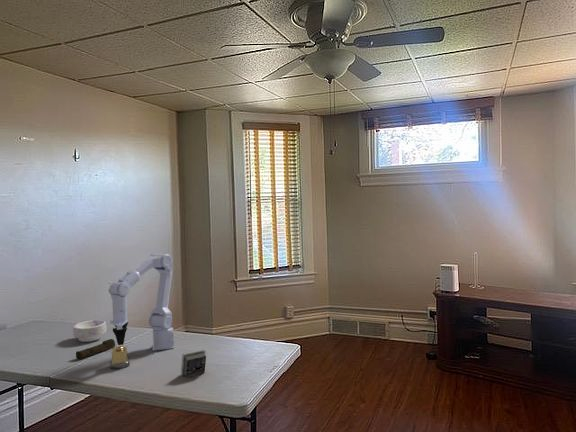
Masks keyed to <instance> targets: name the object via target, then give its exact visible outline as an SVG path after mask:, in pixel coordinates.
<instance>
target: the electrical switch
mask: <svg viewBox="0 0 576 432" xmlns="http://www.w3.org/2000/svg"><path fill="white" fill-rule="evenodd" d="M206 361H207V355H206V350H205V349H204V348H203V349H198V350H193V351H189V352H184V353H183V354H182V355H181V368H180V369H181V370H180V373H181V375H182V376H183V375H184V376H185V377H186V378H187V377H189V378H190V377H193V376H197V375H201V374H204V373H205V371H206Z"/></svg>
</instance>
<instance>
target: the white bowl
mask: <svg viewBox="0 0 576 432" xmlns="http://www.w3.org/2000/svg"><path fill="white" fill-rule="evenodd" d="M72 329H73V330H72V331H73V337H75V338H77V339H78V340H79V342H82V343H89V342H90V343H91V342H93V341H94V342H95V341H98V340H100V339H101V338H102V337H103V334H105V333H106V332H107V321H105V320H102V319H93V320H92V319H91V320H86V321H82V322H78V323H76V324H73V326H72Z"/></svg>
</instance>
